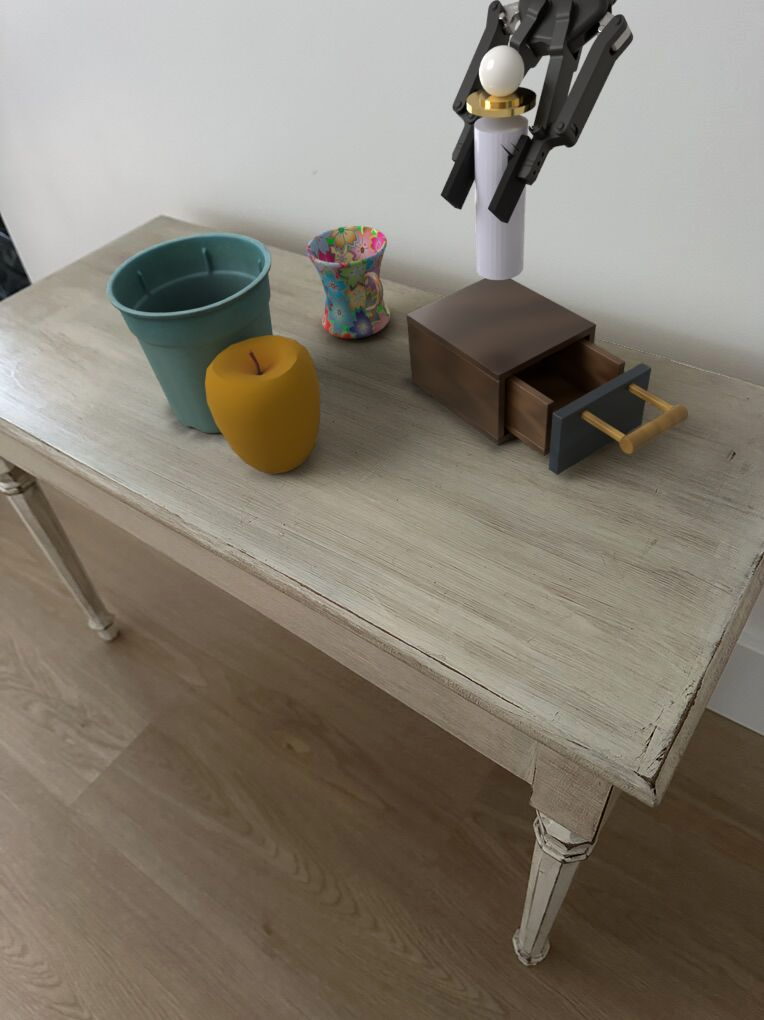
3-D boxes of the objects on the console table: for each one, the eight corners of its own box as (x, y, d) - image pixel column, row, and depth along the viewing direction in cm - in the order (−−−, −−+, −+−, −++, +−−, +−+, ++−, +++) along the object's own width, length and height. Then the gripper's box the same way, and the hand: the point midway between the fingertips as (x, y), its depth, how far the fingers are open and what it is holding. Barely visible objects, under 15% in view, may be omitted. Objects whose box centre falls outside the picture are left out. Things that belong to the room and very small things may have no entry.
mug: (307, 321, 100) (292, 242, 92) (370, 296, 102) (361, 217, 95) (353, 365, 92) (341, 282, 84) (420, 337, 95) (414, 254, 87)
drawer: (693, 456, 75) (707, 398, 70) (606, 511, 71) (615, 454, 66) (546, 366, 87) (550, 311, 82) (465, 409, 83) (464, 354, 78)
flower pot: (126, 437, 86) (72, 306, 75) (196, 352, 97) (157, 227, 86) (262, 457, 82) (226, 322, 70) (319, 366, 92) (296, 235, 81)
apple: (273, 410, 87) (249, 306, 78) (352, 440, 82) (336, 333, 73) (205, 469, 81) (170, 364, 72) (286, 505, 76) (259, 397, 67)
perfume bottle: (458, 281, 77) (451, 53, 63) (489, 255, 80) (489, 32, 66) (509, 296, 74) (514, 60, 60) (540, 268, 77) (552, 38, 63)
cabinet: (588, 394, 84) (596, 324, 78) (498, 445, 80) (498, 375, 74) (497, 338, 93) (498, 271, 87) (411, 381, 89) (406, 314, 83)
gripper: (704, -23, 64) (574, 251, 68) (525, -37, 73) (420, 204, 77) (683, -90, 58) (541, 215, 62) (490, -97, 67) (377, 169, 71)
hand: (474, 208), depth 69 cm, fingers closed on perfume bottle, 4 cm apart
